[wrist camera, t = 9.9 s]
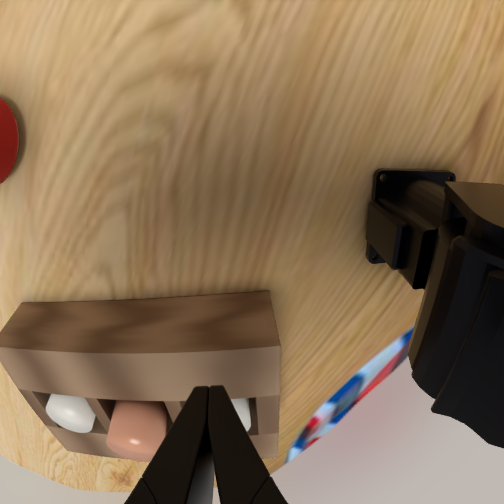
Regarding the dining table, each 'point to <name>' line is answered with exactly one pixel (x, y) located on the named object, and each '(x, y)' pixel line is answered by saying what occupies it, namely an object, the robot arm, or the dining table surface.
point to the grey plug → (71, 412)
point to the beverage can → (7, 140)
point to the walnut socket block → (146, 358)
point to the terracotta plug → (137, 429)
